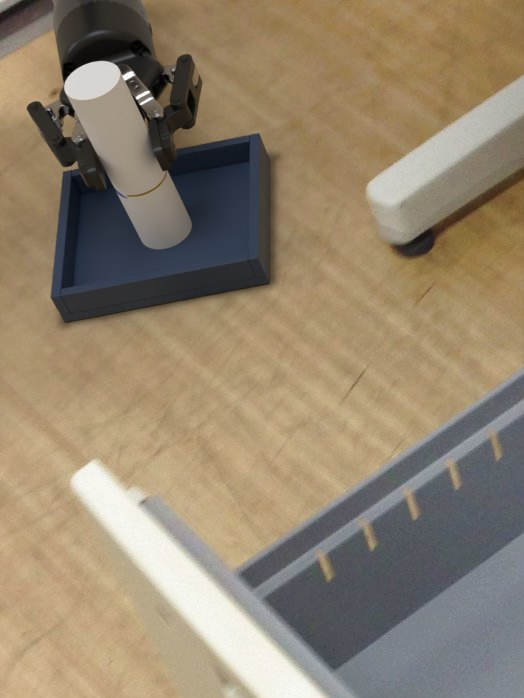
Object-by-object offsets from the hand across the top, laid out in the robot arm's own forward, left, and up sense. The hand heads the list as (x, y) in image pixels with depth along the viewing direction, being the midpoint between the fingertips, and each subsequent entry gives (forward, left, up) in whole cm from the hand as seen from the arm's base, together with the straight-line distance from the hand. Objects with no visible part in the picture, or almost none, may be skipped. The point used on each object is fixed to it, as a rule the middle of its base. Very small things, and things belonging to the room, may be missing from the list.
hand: (130, 171), depth 136 cm
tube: (0, +3, -9) cm, 9 cm away
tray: (0, +3, -9) cm, 10 cm away
